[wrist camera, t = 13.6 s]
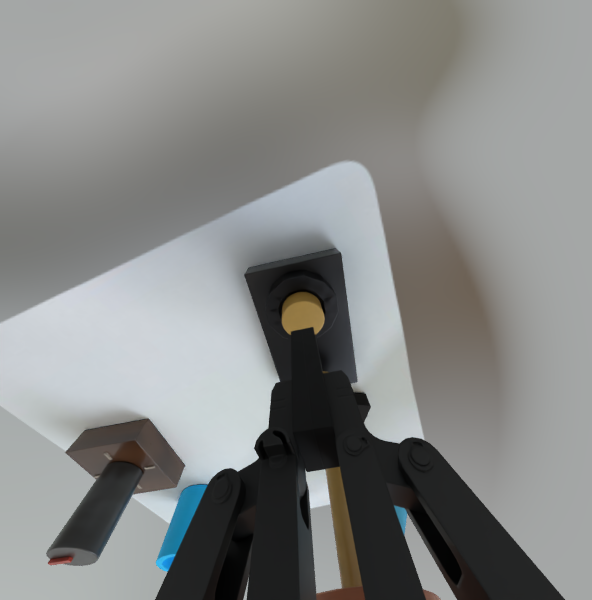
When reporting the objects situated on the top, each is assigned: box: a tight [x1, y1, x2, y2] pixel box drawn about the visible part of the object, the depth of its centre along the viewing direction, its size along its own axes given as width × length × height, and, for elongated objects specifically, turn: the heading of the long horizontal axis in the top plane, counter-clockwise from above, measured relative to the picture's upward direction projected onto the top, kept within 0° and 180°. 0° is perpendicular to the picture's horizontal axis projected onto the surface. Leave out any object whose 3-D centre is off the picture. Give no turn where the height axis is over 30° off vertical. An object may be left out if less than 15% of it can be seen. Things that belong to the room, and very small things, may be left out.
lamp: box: [316, 371, 441, 600], centre depth 14 cm, size 8×8×20 cm
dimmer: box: [46, 462, 143, 566], centre depth 26 cm, size 5×5×8 cm
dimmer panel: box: [66, 419, 185, 494], centre depth 31 cm, size 12×10×3 cm
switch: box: [282, 292, 325, 335], centre depth 18 cm, size 4×4×2 cm
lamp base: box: [245, 248, 357, 383], centre depth 23 cm, size 16×9×4 cm, turn 12°
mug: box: [156, 485, 208, 572], centre depth 35 cm, size 12×8×8 cm
